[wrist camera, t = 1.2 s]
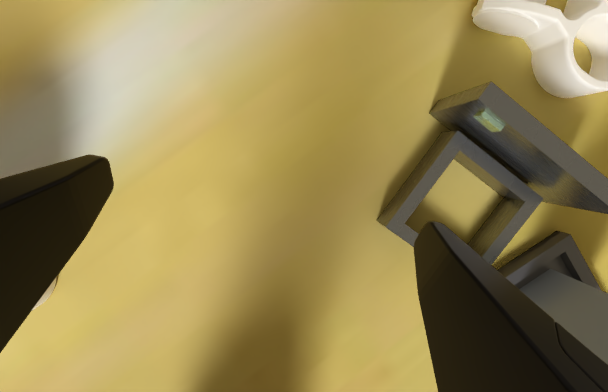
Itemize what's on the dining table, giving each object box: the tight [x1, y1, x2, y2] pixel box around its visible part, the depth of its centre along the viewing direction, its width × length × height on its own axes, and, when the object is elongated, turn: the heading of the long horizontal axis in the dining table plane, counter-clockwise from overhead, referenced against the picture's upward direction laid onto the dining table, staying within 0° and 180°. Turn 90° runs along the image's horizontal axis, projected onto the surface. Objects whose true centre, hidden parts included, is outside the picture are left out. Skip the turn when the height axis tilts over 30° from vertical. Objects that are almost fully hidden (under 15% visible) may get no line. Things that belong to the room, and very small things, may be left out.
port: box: [377, 82, 608, 265], centre depth 21 cm, size 10×12×6 cm
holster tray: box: [497, 231, 601, 290], centre depth 25 cm, size 9×9×1 cm
